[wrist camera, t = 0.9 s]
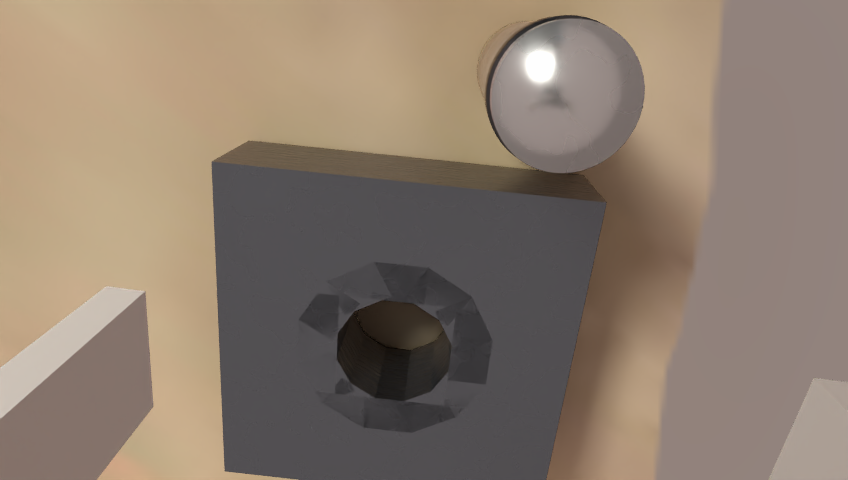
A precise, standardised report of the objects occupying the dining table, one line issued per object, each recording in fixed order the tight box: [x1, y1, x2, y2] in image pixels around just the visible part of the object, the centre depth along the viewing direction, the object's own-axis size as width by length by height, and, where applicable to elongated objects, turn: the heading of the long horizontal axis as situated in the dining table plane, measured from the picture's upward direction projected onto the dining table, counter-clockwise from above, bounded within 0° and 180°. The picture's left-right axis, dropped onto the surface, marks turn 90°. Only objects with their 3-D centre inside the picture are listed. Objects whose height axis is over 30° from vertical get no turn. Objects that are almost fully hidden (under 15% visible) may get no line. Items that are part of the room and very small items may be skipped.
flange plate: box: [212, 141, 607, 480], centre depth 31 cm, size 18×18×5 cm
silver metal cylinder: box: [477, 15, 645, 173], centre depth 23 cm, size 5×5×12 cm
